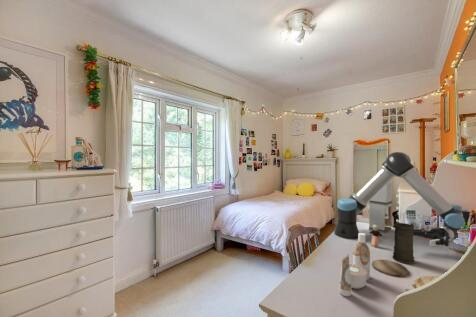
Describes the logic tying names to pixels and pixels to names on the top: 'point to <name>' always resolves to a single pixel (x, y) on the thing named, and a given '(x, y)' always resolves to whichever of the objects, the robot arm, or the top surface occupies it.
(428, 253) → the top surface
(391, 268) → the walnut board
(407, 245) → the container
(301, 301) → the top surface
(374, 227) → the grandmother figurine
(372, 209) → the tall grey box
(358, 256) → the cosmetic set
